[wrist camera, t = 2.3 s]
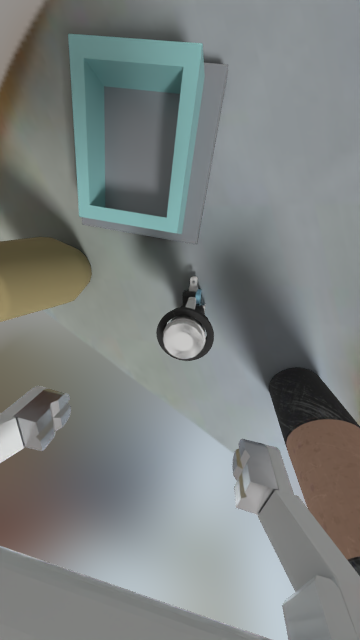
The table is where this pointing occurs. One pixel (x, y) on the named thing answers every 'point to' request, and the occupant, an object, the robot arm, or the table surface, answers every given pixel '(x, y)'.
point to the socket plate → (144, 133)
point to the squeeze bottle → (39, 275)
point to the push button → (186, 328)
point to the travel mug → (322, 454)
